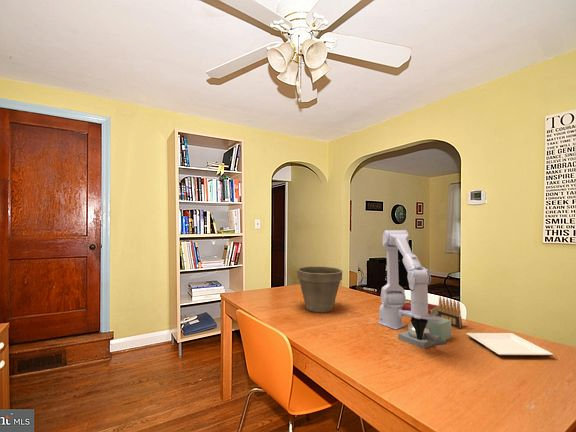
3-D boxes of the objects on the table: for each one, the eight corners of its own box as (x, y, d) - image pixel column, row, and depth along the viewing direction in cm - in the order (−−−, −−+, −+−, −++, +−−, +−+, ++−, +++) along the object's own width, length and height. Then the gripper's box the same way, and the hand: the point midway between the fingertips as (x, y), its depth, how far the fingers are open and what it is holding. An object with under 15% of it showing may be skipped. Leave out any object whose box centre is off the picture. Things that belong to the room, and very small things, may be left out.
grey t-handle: (403, 331, 115) (403, 320, 115) (421, 330, 116) (420, 319, 116) (430, 348, 99) (430, 335, 99) (450, 346, 100) (450, 334, 101)
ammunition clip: (462, 328, 124) (461, 301, 125) (459, 328, 124) (458, 301, 124) (440, 320, 134) (439, 295, 134) (437, 321, 133) (437, 296, 134)
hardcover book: (431, 318, 138) (431, 310, 138) (391, 309, 153) (391, 301, 154) (440, 313, 146) (440, 305, 146) (401, 305, 162) (401, 297, 162)
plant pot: (349, 306, 158) (348, 268, 159) (331, 319, 137) (331, 274, 138) (310, 300, 172) (310, 264, 172) (288, 310, 151) (288, 270, 152)
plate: (465, 337, 114) (465, 332, 114) (512, 337, 114) (511, 332, 114) (499, 359, 96) (499, 353, 96) (554, 360, 95) (554, 354, 95)
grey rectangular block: (397, 338, 114) (396, 321, 114) (423, 328, 124) (423, 312, 124) (425, 349, 104) (425, 330, 104) (451, 337, 114) (451, 320, 114)
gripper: (396, 301, 105) (396, 337, 104) (439, 307, 96) (440, 347, 96) (401, 297, 110) (401, 331, 110) (442, 303, 102) (443, 340, 101)
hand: (419, 338), depth 103 cm, fingers closed
